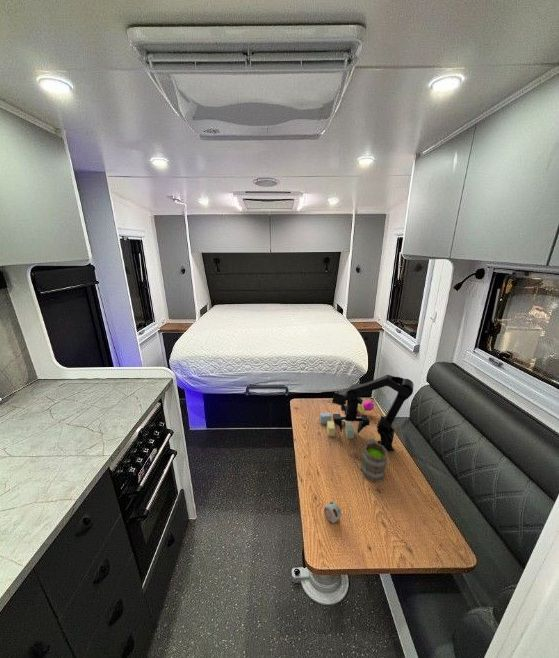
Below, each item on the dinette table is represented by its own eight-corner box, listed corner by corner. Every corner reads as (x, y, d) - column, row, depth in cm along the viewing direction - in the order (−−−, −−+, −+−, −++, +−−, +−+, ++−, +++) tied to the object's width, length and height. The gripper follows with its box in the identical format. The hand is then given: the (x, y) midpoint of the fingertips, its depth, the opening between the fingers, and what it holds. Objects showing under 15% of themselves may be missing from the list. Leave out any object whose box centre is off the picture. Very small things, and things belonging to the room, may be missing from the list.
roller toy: (330, 507, 101) (331, 496, 99) (342, 520, 96) (344, 509, 95) (322, 513, 99) (323, 502, 97) (334, 527, 94) (336, 516, 92)
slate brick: (329, 419, 153) (329, 412, 152) (330, 423, 150) (331, 415, 149) (319, 420, 153) (319, 412, 151) (321, 423, 149) (321, 416, 148)
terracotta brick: (344, 422, 151) (345, 415, 149) (342, 425, 148) (343, 418, 147) (335, 418, 154) (335, 411, 152) (332, 422, 151) (333, 414, 150)
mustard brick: (334, 436, 140) (335, 428, 138) (328, 435, 140) (328, 428, 138) (333, 428, 146) (333, 421, 144) (326, 428, 146) (327, 421, 144)
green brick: (353, 438, 138) (354, 430, 137) (346, 438, 139) (347, 430, 137) (351, 430, 144) (352, 423, 143) (344, 430, 144) (345, 423, 143)
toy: (343, 409, 164) (342, 401, 157) (370, 401, 164) (370, 392, 157) (349, 423, 157) (348, 415, 150) (377, 415, 157) (378, 407, 150)
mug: (387, 483, 112) (391, 462, 108) (361, 479, 114) (364, 457, 110) (381, 456, 126) (384, 436, 123) (358, 452, 128) (360, 433, 125)
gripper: (365, 400, 143) (362, 423, 148) (332, 398, 144) (330, 422, 149) (371, 412, 133) (368, 437, 138) (335, 410, 134) (333, 435, 138)
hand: (349, 432), depth 141 cm, fingers open, 9 cm apart
